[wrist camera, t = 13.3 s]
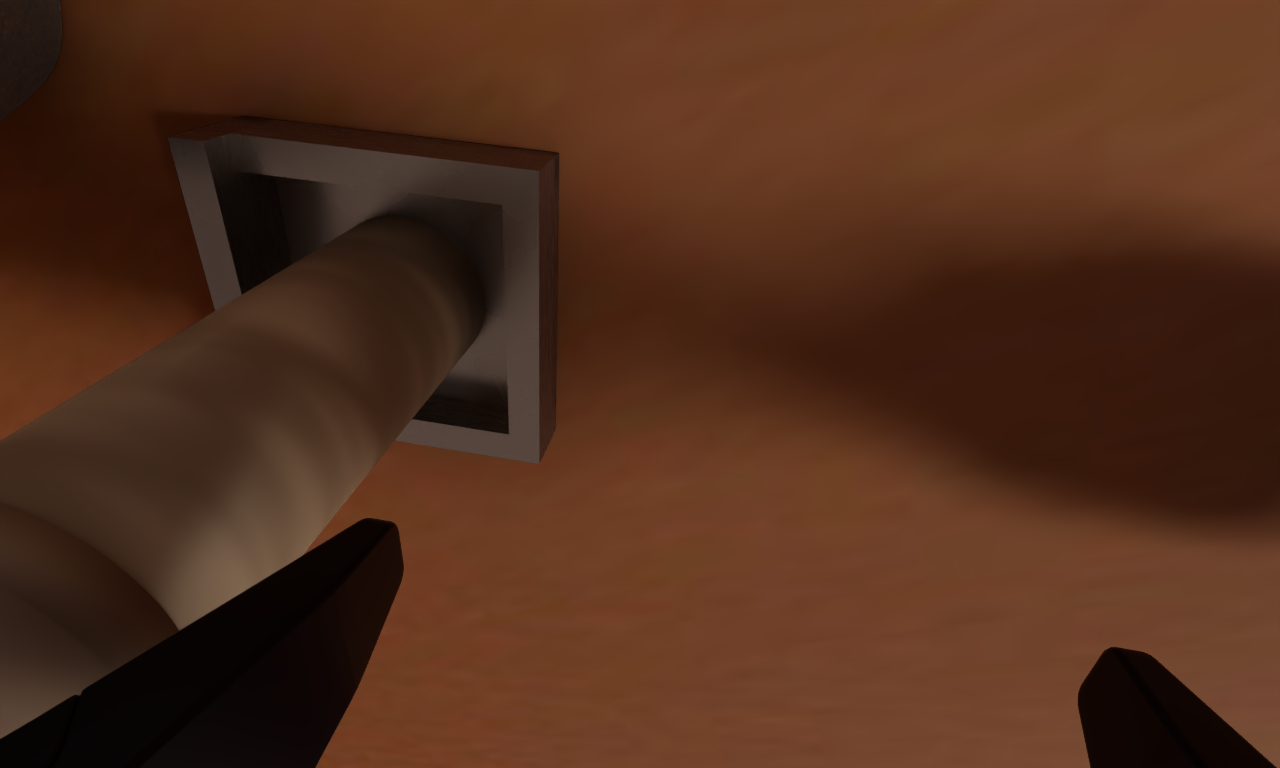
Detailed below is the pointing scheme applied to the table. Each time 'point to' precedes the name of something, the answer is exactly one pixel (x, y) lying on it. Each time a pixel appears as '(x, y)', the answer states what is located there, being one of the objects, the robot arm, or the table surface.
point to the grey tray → (412, 188)
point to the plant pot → (27, 48)
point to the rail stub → (217, 454)
